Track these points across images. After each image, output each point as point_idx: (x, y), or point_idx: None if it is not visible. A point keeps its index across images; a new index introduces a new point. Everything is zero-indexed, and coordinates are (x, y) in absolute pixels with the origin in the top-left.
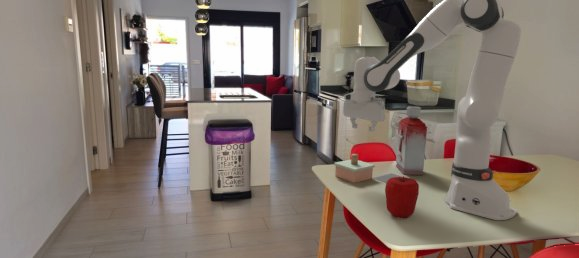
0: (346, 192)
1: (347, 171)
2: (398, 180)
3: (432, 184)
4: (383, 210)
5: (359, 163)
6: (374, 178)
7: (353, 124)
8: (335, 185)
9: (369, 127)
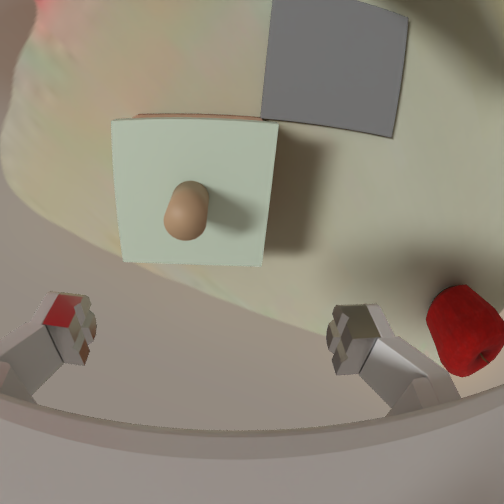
0: (285, 297)
1: None
2: (474, 361)
3: (447, 9)
4: (412, 307)
5: (201, 168)
6: (270, 112)
7: (69, 362)
8: (215, 281)
9: (338, 369)
